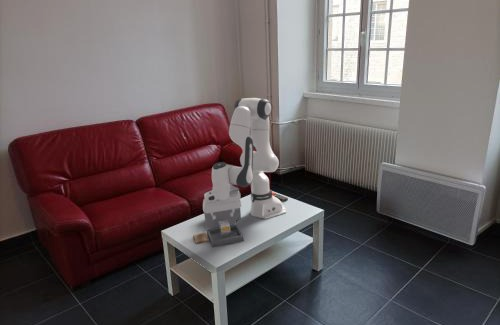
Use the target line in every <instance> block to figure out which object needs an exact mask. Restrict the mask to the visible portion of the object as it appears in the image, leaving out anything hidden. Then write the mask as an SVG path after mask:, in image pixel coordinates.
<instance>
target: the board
mask: <svg viewBox="0 0 500 325" xmlns="http://www.w3.org/2000/svg"><path fill="white" fill-rule="evenodd" d="M193 239H194V241H195V244H196V245H198V244H199V245H200V244H205V243H209V242H210V240H209V237H208V235H207V231H206V232H200V233H196V234H193Z"/></svg>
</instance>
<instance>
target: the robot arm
mask: <svg viewBox="0 0 500 325" xmlns="http://www.w3.org/2000/svg"><path fill="white" fill-rule="evenodd" d="M272 107H273V106H272V104H271V102H270V100H268V99H266V98H258V97H247V98H245V97H242V98H238V99H237V100H236V101H235V102H234V106H233V109H234V111H233V113H232V116H231V120H230V124H229V129H228V135H229V138H230V139H231V141H232V142H234V143H235V144H236V145H238V146H239V147H240V148H241V150H242V153H241V155H240V158H239V161H240V165H241V166H237V165H233V164H228V163H226V162H224V161H222V162H216V163H214V164H213V166H212V168H211V181H212V189H211V190H209V191H207V192H205V193H204V194H203V195H204V198H203V200H202V201H203V202H202V210H203V214H204V213H210V214H211V215H212V218H213V220H215V219H216V216H215V215H214V216H213V212H219V211H225V210H232V212H231V213H230V217H233V213H234V211H235V209H238V208H240V209H241V207H242V201H241V197H242V196H241V194H242V193H241V192H240V191H239V192H238V191H236V192H230V189H229V184H230V185H236V186H238V187H242V188H247V187H248V186H250V188H251V189H250V190H251V192H250V201H251V206H250V210H249V214H250V215H251V216H252V217H254V218H262V219H264V220H265V219H270V218H273V217H278V216H279V215H283V214H286V213H287V208H286V207H285V206H284V205H283V203H282V201H281V200H280V199H279V198H278V197H276V196H275V195H276V192H274V191H273V190H271V189H270V179H269V177H268V176H267V175H266V174H265V173H273V172H276V170H278V167H279V165H280V164H279V163H280V161H279V159H278V157H277V156H276V154H275V153H274V151H273V149H272V147H271V142H270V129H271V128H270V127H271V126H270V117H269V116H270V115H271V113H272V109H273V108H272ZM254 148H255V150H256V151H255V150H254Z"/></svg>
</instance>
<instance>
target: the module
mask: <svg viewBox="0 0 500 325" xmlns="http://www.w3.org/2000/svg"><path fill="white" fill-rule="evenodd" d="M218 224H219V227H218V228H219V235H220V237H221V239H226V238H231V232H230V226H231V224H229V222H228V220H224V221H218Z"/></svg>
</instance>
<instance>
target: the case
mask: <svg viewBox="0 0 500 325" xmlns="http://www.w3.org/2000/svg"><path fill="white" fill-rule="evenodd" d="M230 232H231V238H226V239H221V237H220V235H219V227H215V228H210V229H206V234H207V236H208V239H209V242H210V245H211V247H212V248H216V247H220V246H226V245H231V244H235V243H240V242H244V241H245V239H244V238H245V237H244V234H243V233H242V231H241V229H240V228H239V225H238V224H231V225H230Z"/></svg>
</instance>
